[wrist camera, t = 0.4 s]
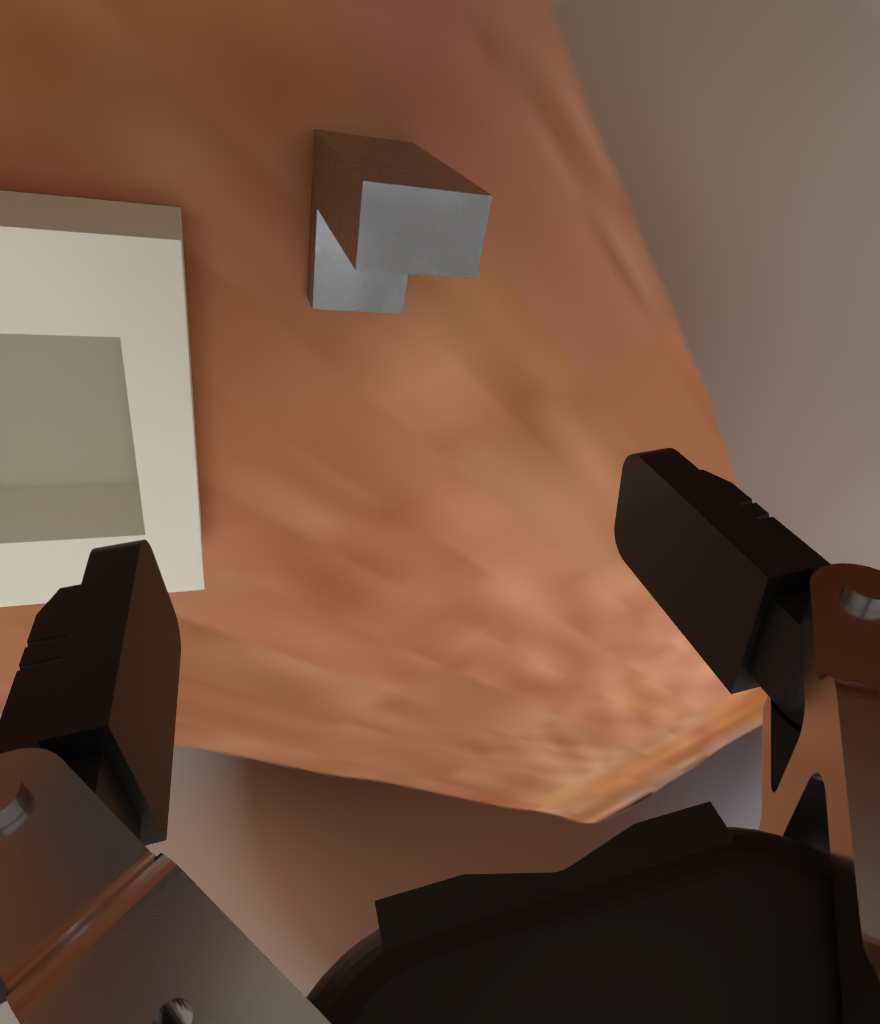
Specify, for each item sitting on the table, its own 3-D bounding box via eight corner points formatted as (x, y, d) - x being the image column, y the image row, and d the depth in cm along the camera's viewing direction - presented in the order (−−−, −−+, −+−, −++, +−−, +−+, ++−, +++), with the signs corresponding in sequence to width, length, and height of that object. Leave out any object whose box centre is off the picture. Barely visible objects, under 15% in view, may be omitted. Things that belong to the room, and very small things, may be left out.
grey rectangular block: (314, 129, 25) (363, 180, 19) (413, 143, 27) (492, 195, 20) (307, 297, 29) (345, 389, 22) (394, 301, 30) (456, 390, 24)
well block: (-213, 170, 22) (-284, 204, 18) (181, 207, 26) (180, 240, 22) (-71, 547, 31) (-102, 615, 27) (201, 531, 35) (204, 589, 31)
